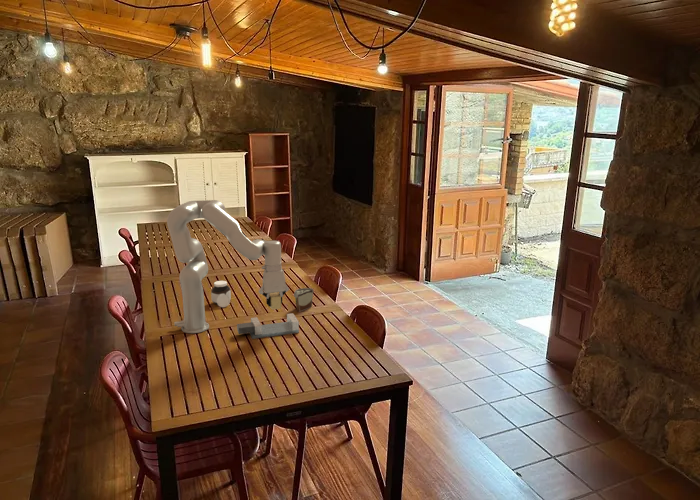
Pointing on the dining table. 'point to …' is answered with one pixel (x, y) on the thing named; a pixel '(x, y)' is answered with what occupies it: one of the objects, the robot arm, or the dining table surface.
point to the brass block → (275, 301)
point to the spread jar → (221, 293)
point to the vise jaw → (250, 327)
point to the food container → (303, 298)
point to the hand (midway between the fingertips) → (274, 304)
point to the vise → (279, 328)
